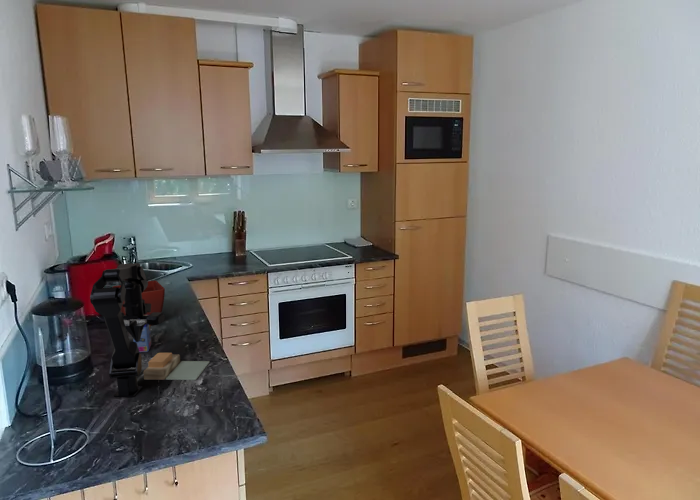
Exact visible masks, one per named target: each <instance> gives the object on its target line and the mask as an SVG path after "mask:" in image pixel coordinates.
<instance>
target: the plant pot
mask: <svg viewBox="0 0 700 500" xmlns="http://www.w3.org/2000/svg"><path fill="white" fill-rule="evenodd" d="M147 281H148V286H147V288H146V289H145V290H144V291H143V292H142V299H144V301H145V303H149V304H151V312H147V314H144V315H150V314H151V313H153V312H162V313H163V309H164V302H165V294H166V293H165V292H166V289H165V287H164V286H163V285H161V284H160V282H158V280H147ZM112 287H119V288H120V287H121V285H119V284H118V285H113V286H112ZM123 304H124V302H123ZM121 312H123V313H124V315H126V313H125V307H123V305H122V308H121ZM151 326H152V325H150V327H151Z"/></svg>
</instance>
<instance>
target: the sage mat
mask: <svg viewBox="0 0 700 500" xmlns="http://www.w3.org/2000/svg"><path fill="white" fill-rule="evenodd" d="M209 364H210V361H208V360H207V361H206V360H200V361H199V360H195V361H194V360H180V363H179V364H178V365H177V366H176V367H175V369H174V370H173V371H172V372H171V373H170V374H169V375H168V376H167V377H166V378H165V380H169V381H171V380H172V381H174V380H175V381H177V380H178V381H181V380H182V381H187V380H188V381H196V380H197V379H198V378H199V377H200V375H202V373H203V372H204V371H205V369H206V368H207V367H208V365H209Z"/></svg>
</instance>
